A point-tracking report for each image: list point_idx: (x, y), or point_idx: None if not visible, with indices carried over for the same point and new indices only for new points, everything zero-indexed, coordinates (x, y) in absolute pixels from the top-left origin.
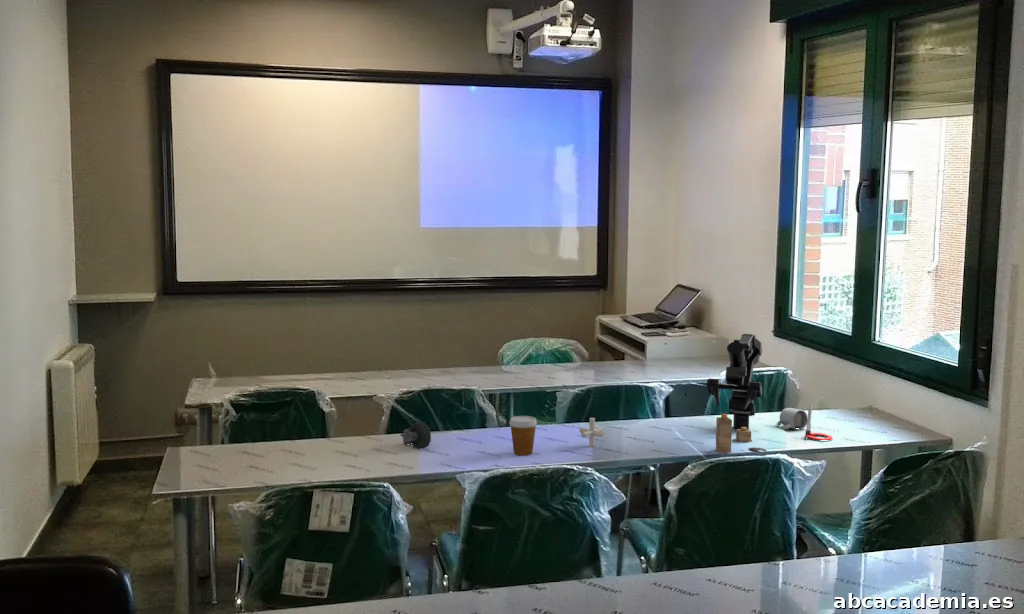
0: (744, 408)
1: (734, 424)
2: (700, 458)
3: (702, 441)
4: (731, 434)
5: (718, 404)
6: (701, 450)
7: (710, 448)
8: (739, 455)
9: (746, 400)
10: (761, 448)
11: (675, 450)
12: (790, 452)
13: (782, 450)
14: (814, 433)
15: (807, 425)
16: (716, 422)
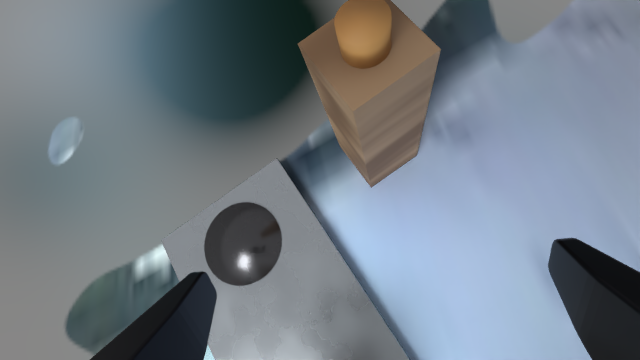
0: (203, 280)
1: None
2: (437, 28)
3: (565, 321)
4: (322, 102)
5: (569, 288)
6: (485, 140)
7: (460, 196)
8: (304, 151)
9: (115, 355)
10: (227, 278)
11: (603, 75)
12: (118, 307)
13: None
14: None
15: None
16: (433, 74)
